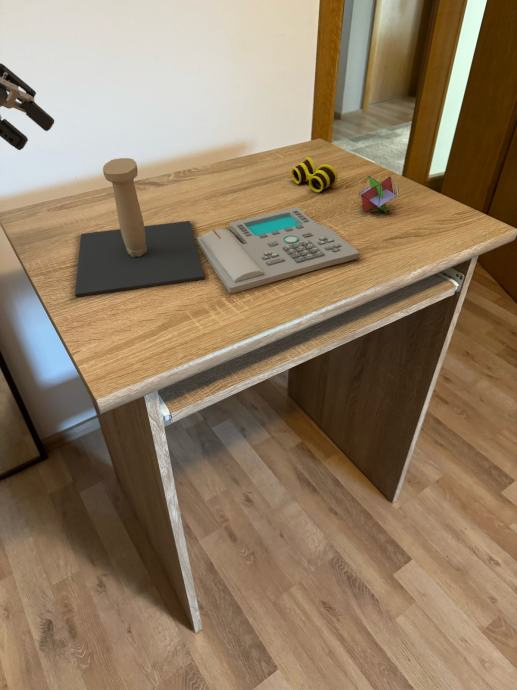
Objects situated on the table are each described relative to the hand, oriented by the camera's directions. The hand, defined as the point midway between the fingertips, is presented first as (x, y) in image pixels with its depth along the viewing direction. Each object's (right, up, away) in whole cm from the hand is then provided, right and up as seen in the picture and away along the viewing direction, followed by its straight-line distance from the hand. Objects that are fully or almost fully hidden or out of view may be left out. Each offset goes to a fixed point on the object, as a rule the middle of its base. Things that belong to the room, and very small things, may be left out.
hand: (38, 135), depth 71 cm
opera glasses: (+44, +4, +34) cm, 56 cm away
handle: (+12, -15, +12) cm, 23 cm away
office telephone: (+34, -14, +14) cm, 40 cm away
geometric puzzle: (+55, -4, +24) cm, 60 cm away
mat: (+12, -15, +12) cm, 23 cm away
